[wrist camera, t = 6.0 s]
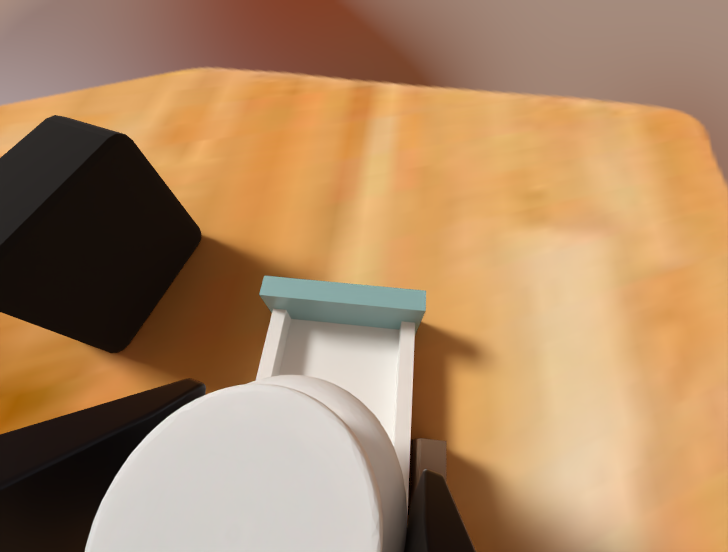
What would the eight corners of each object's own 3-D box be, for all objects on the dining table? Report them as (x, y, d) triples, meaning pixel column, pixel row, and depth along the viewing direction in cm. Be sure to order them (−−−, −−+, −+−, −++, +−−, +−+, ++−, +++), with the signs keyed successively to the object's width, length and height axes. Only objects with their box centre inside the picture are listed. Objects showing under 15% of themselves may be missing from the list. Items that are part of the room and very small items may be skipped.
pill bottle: (375, 589, 12) (407, 984, 3) (227, 553, 12) (-118, 800, 3) (397, 421, 14) (448, 368, 5) (273, 396, 15) (140, 312, 6)
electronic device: (205, 235, 26) (122, 125, 17) (121, 356, 22) (-47, 294, 13) (160, 220, 27) (57, 107, 18) (70, 335, 23) (-124, 261, 14)
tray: (405, 568, 17) (417, 605, 13) (225, 543, 17) (183, 572, 13) (415, 317, 23) (425, 290, 19) (281, 304, 23) (264, 275, 19)
